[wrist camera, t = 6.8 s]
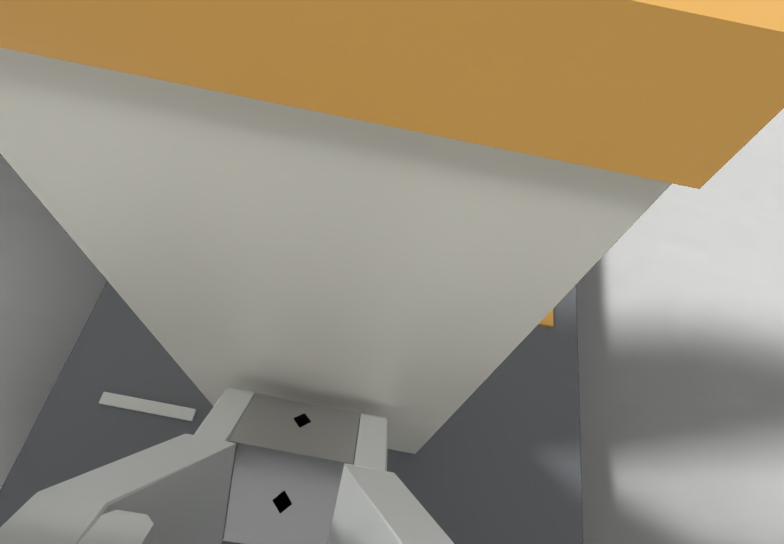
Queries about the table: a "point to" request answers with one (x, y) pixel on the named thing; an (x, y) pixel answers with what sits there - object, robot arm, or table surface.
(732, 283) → the table surface
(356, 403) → the fader tab
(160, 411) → the console board
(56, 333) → the table surface
